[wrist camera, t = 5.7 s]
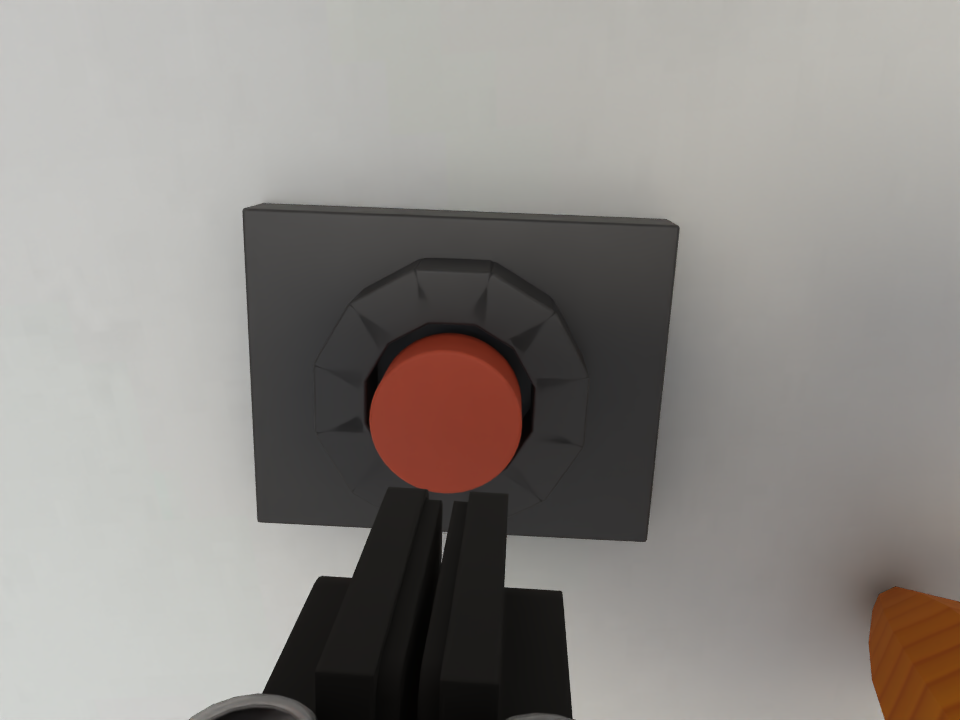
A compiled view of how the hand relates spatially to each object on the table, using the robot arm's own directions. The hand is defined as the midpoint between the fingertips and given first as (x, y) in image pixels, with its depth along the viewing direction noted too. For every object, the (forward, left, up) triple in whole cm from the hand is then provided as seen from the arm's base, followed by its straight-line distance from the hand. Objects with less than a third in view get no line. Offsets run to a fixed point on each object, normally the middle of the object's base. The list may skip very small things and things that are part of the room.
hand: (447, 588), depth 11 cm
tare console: (+1, 0, -10) cm, 10 cm away
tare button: (+1, 0, -7) cm, 7 cm away
